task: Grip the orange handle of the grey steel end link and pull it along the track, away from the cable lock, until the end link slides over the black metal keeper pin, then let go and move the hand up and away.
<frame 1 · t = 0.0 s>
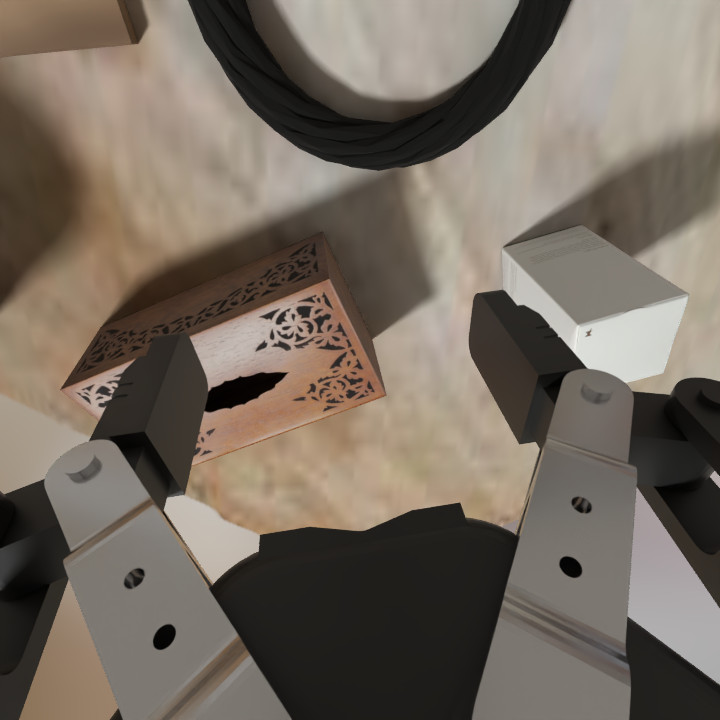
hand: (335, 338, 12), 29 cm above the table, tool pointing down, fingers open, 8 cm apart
tissue box cover: (245, 331, 46), on the table
supplement box: (539, 270, 46), on the table
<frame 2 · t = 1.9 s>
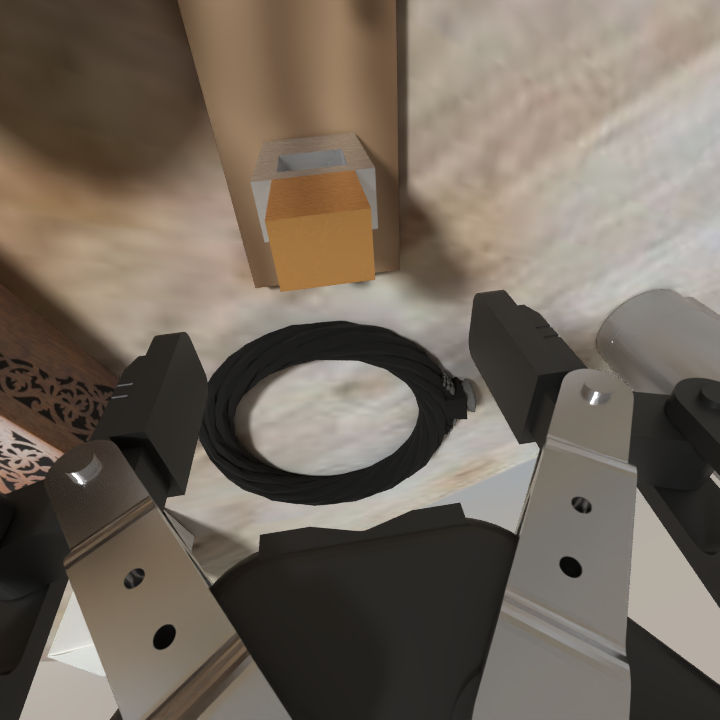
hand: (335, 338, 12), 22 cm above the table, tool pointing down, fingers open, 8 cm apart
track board: (290, 7, 24), on the table
cable lock: (338, 411, 46), on the table
end link: (321, 229, 23), point 9 cm above the table, slide at 0.0 cm
supplement box: (149, 528, 55), on the table
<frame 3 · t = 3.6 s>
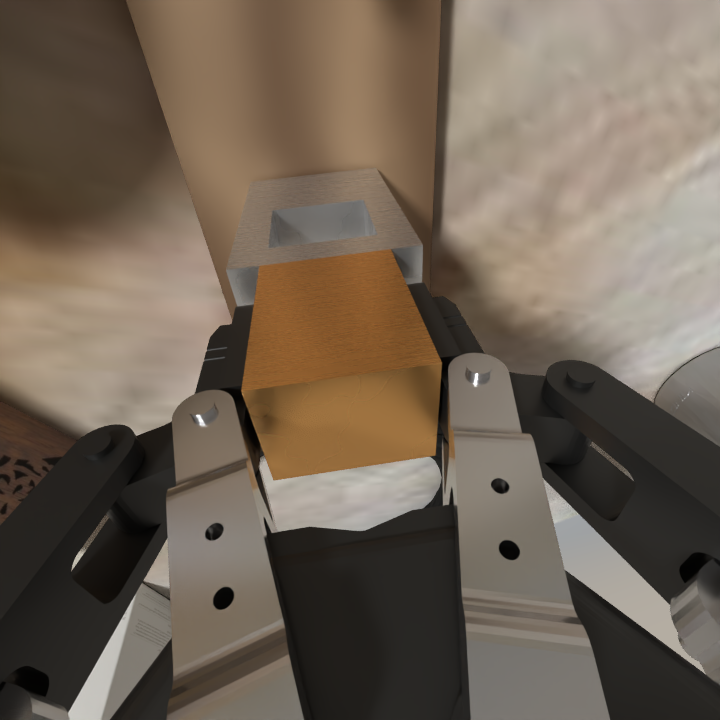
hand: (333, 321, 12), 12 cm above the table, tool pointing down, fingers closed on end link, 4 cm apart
cable lock: (345, 479, 39), on the table
end link: (333, 317, 16), point 9 cm above the table, slide at 0.0 cm, touching gripper
supplement box: (128, 600, 48), on the table
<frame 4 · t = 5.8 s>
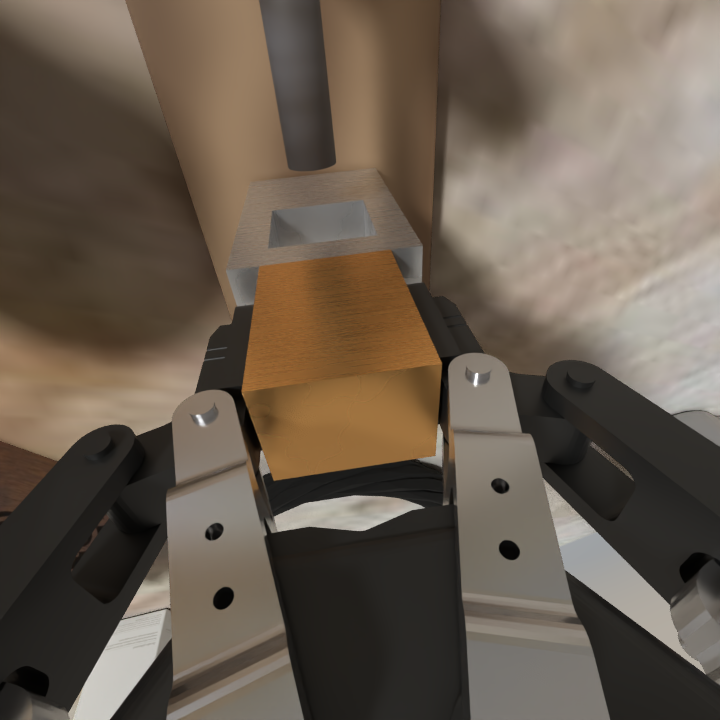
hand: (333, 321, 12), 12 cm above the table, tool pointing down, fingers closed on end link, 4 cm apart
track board: (316, 196, 22), on the table
cable lock: (352, 522, 44), on the table
end link: (333, 318, 16), point 9 cm above the table, slide at 8.1 cm, touching gripper
supplement box: (154, 624, 53), on the table
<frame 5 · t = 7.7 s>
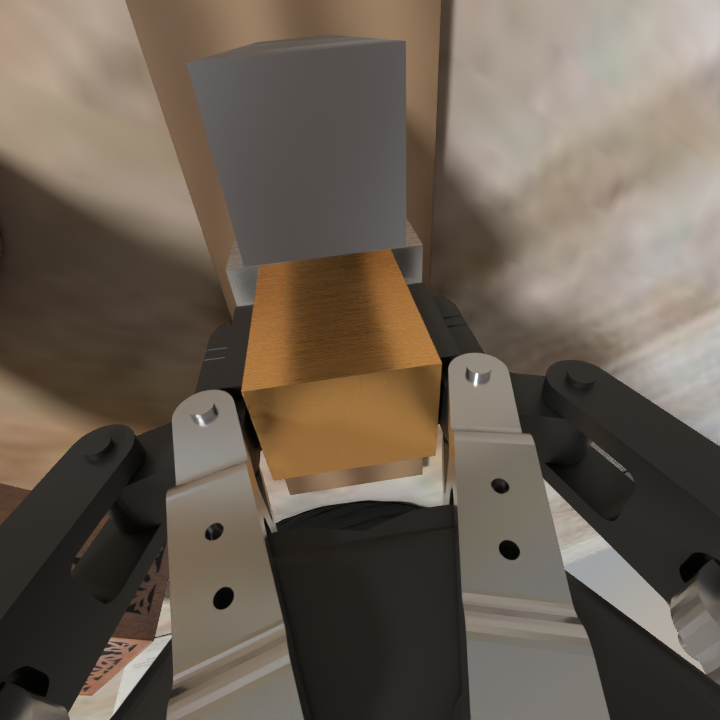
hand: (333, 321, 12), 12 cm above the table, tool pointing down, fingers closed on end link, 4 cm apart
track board: (333, 318, 27), on the table
cable lock: (358, 554, 49), on the table
end link: (333, 317, 16), point 9 cm above the table, slide at 15.9 cm, touching gripper
tissue box cover: (8, 526, 37), on the table
supplement box: (176, 643, 58), on the table
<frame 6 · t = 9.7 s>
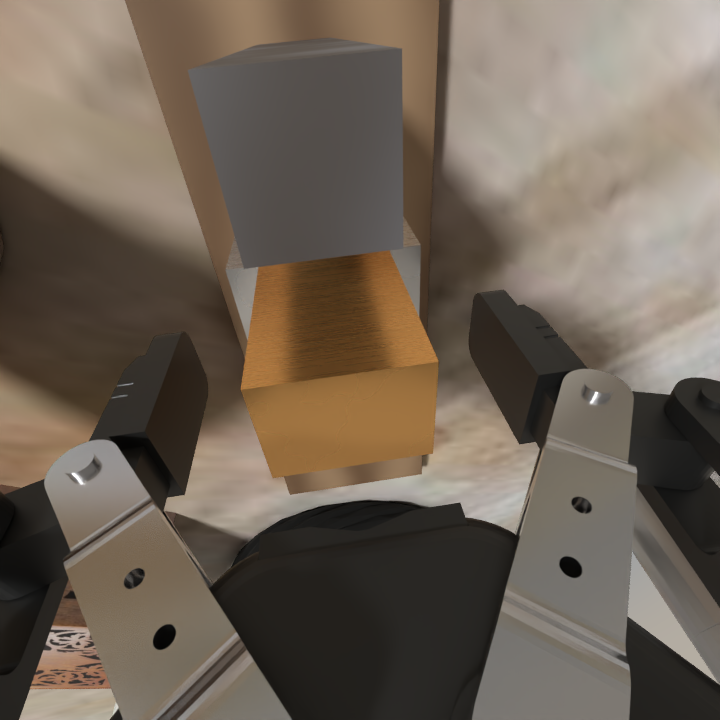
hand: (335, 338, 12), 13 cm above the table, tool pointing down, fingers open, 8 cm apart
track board: (332, 318, 27), on the table
cable lock: (358, 554, 50), on the table
end link: (332, 317, 16), point 9 cm above the table, slide at 15.9 cm
tissue box cover: (9, 525, 37), on the table
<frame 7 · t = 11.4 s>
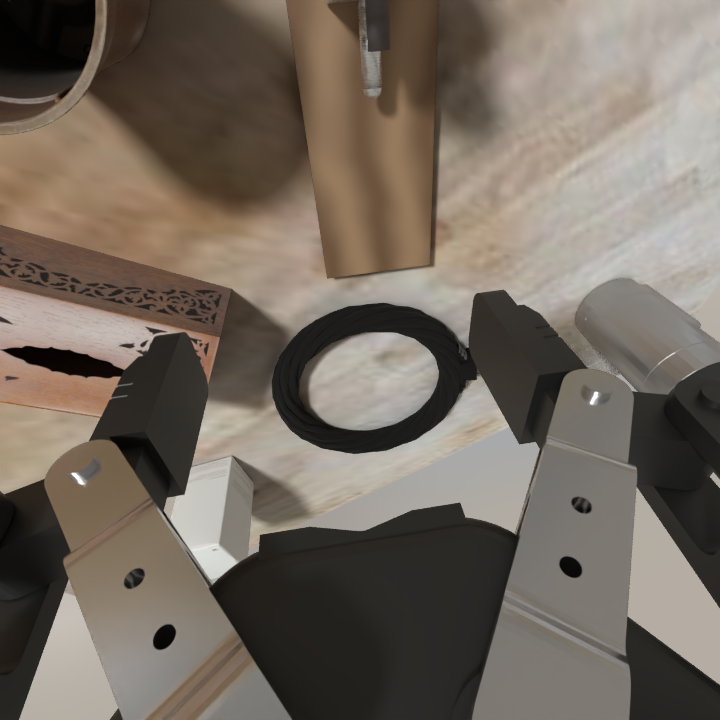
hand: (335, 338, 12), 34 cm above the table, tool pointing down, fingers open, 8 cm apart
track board: (366, 95, 37), on the table
cable lock: (375, 376, 60), on the table
end link: (380, 1, 26), point 9 cm above the table, slide at 15.9 cm
tissue box cover: (106, 307, 47), on the table
supplement box: (219, 475, 69), on the table
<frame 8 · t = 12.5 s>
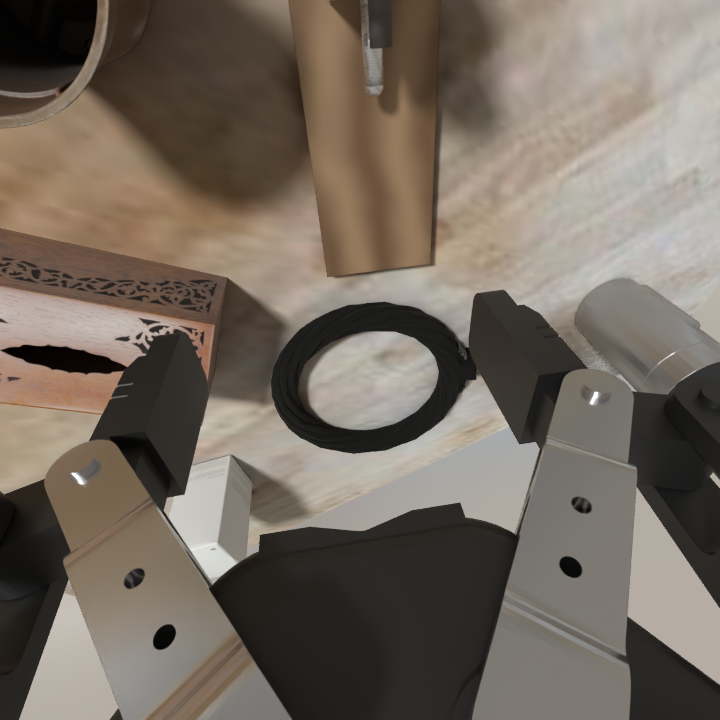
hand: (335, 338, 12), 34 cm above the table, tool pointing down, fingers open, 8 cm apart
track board: (367, 93, 37), on the table
cable lock: (375, 375, 59), on the table
tissue box cover: (105, 305, 47), on the table
supplement box: (218, 474, 69), on the table
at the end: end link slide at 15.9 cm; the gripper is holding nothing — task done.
